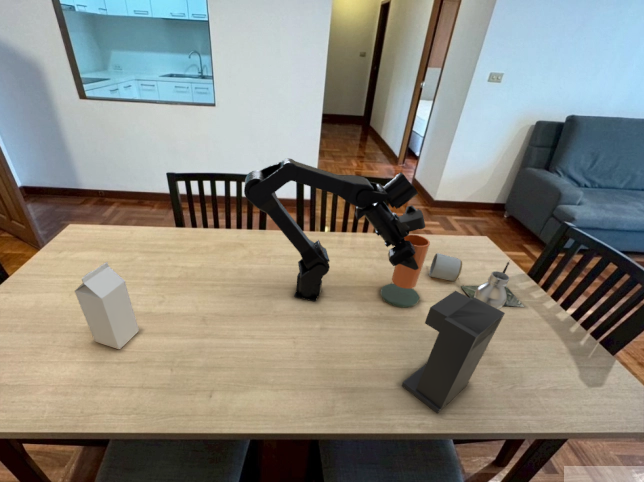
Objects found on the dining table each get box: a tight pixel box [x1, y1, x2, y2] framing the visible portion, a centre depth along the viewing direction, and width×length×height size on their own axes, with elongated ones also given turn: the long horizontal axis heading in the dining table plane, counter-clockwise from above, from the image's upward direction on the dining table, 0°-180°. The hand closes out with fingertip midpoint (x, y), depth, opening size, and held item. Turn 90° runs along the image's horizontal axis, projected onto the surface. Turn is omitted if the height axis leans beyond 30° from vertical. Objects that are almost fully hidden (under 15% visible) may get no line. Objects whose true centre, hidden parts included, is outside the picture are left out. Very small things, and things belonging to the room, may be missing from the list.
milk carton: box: [74, 261, 140, 350], centre depth 80 cm, size 7×7×19 cm
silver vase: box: [460, 259, 525, 308], centre depth 102 cm, size 15×10×13 cm
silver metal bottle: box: [474, 270, 510, 311], centre depth 84 cm, size 6×7×20 cm
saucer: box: [380, 283, 420, 309], centre depth 104 cm, size 11×11×1 cm
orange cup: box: [391, 233, 431, 289], centre depth 96 cm, size 7×7×13 cm
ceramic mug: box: [428, 252, 463, 282], centre depth 113 cm, size 11×8×8 cm
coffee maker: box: [401, 290, 506, 414], centre depth 72 cm, size 10×12×21 cm
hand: (415, 262), depth 96 cm, fingers closed on orange cup, 7 cm apart
